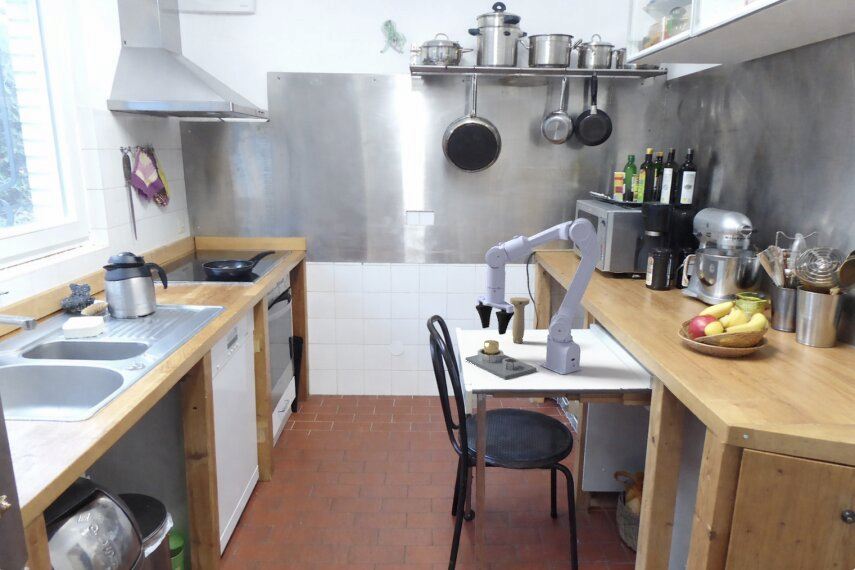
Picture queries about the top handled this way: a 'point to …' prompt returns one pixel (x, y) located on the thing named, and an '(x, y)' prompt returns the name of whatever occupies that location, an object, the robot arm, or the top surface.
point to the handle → (518, 318)
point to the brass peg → (491, 347)
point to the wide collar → (489, 357)
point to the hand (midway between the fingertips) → (493, 330)
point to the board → (497, 367)
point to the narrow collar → (510, 363)
